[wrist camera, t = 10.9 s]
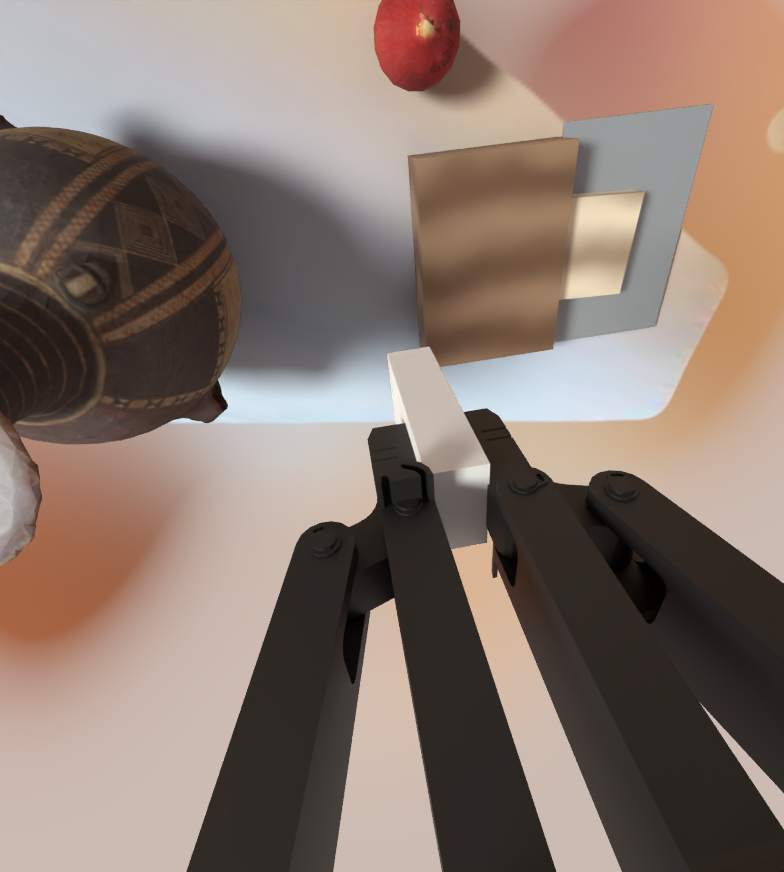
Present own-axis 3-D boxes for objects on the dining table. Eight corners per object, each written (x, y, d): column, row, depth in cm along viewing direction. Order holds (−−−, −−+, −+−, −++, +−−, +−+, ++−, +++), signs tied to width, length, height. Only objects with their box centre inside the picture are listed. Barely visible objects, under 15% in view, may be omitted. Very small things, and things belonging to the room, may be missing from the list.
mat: (563, 122, 37) (567, 122, 37) (708, 104, 38) (713, 103, 38) (540, 341, 49) (542, 344, 49) (651, 324, 50) (654, 326, 49)
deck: (408, 155, 37) (416, 158, 34) (556, 136, 38) (579, 138, 35) (420, 351, 48) (428, 368, 44) (536, 334, 48) (552, 349, 45)
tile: (558, 195, 40) (569, 198, 38) (631, 189, 41) (644, 191, 39) (544, 294, 45) (552, 300, 44) (608, 287, 46) (619, 293, 44)
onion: (446, -10, 32) (480, -45, 25) (444, 91, 35) (474, 84, 29) (365, -8, 31) (379, -42, 25) (371, 95, 35) (385, 89, 28)
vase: (282, 356, 46) (247, 620, 22) (93, 391, 45) (-164, 704, 21) (196, 72, 32) (-157, -80, 8) (-76, 113, 31) (-1381, 83, 7)
